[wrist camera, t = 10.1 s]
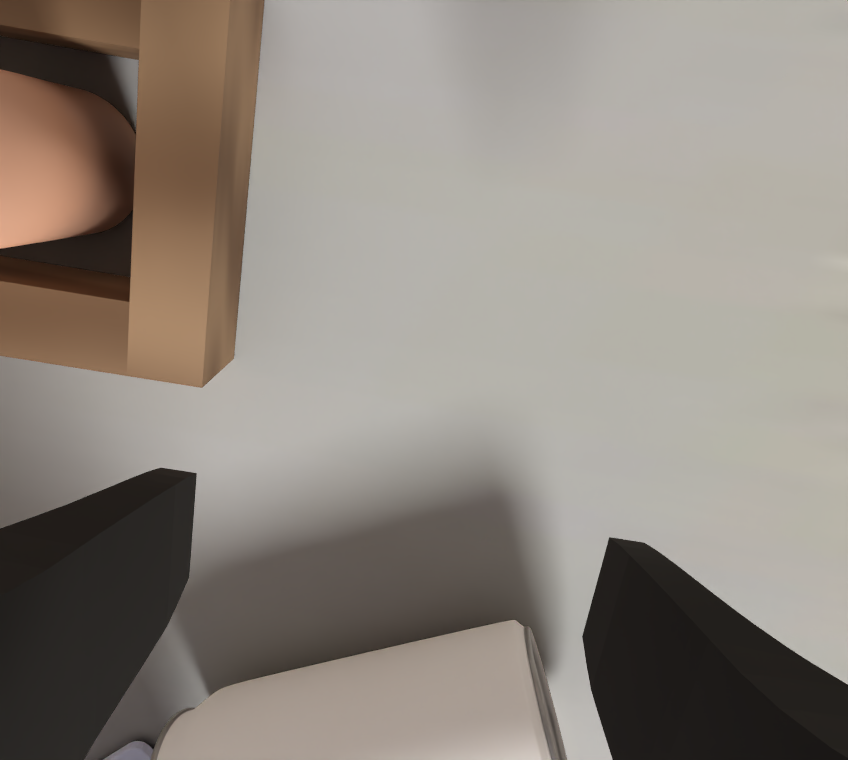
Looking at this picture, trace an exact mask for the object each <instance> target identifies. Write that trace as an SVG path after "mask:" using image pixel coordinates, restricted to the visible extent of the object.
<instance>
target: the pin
mask: <svg viewBox="0 0 848 760" xmlns="http://www.w3.org/2000/svg"><path fill="white" fill-rule="evenodd" d="M135 149H136V135H135V133H134V131H133V129H132V127H131V126H130V124H129V123H128V122H127V120H126V119H125V118H124V116H123V115H122V114H121V113H120V112H119V111H118V110H117V109H116V108H115V107H114V106H112V105H111V104H110V103H109V102H107V101H106V100H104V99H103V98H101V97H99V96H97V95H95V94H93V93H91V92H88V91H85V90H82V89H78V88H74V87H70V86H66V85H62V84H58V83H54V82H50V81H46V80H42V79H38V78H34V77H30V76H26V75H22V74H18V73H14V72H10V71H6V70H2V69H0V249H1V248H7V247H14V246H20V245H26V244H32V243H38V242H45V241H51V240H57V239H63V238H70V237H76V236H82V235H88V234H94V233H99V232H103V231H106V230H108V229H110V228H112V227H114V226H116V225H117V224H119V223H120V222H122V221H123V220H124V219H125V218H126V217H127V216H128V215H129V214H130V212H131V211H132V210H133V201H134V175H135Z"/></svg>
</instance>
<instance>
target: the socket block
mask: <svg viewBox="0 0 848 760" xmlns="http://www.w3.org/2000/svg"><path fill="white" fill-rule="evenodd" d="M263 11H264V0H0V36H4V37H10V38H15V39H21V40H27V41H33V42H38V43H44V44H50V45H56V46H61V47H67V48H73V49H79V50H84V51H90V52H96V53H102V54H108V55H113V56H119V57H125V58H131V59H136V60H139V71H138V97H137V123H136V149H135V175H134V201H133V227H132V253H131V277H127V276H121V275H115V274H109V273H103V272H96V271H90V270H84V269H78V268H72V267H66V266H60V265H54V264H48V263H42V262H35V261H29V260H23V259H17V258H11V257H5V256H0V356H6V357H12V358H18V359H25V360H31V361H37V362H44V363H50V364H56V365H62V366H69V367H75V368H81V369H87V370H94V371H100V372H106V373H113V374H119V375H125V376H131V377H138V378H144V379H150V380H157V381H163V382H169V383H175V384H182V385H188V386H194V387H201V388H202V387H203V386H204V385H205V384H207V383H208V382H209V381H210V380H211V379H212V378H213V377H214V376H215V375H216V374H217V373H219V372H220V371H221V370H222V369H223V368H224V367H225V366H226V365H227V364H228V363H229V362H231V361H232V360H233V359H234V350H235V338H236V327H237V315H238V303H239V291H240V280H241V268H242V256H243V245H244V233H245V221H246V210H247V198H248V186H249V174H250V163H251V151H252V139H253V128H254V116H255V104H256V93H257V81H258V69H259V57H260V46H261V34H262V22H263Z"/></svg>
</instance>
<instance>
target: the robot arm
mask: <svg viewBox="0 0 848 760" xmlns="http://www.w3.org/2000/svg"><path fill="white" fill-rule="evenodd" d="M196 474H197V473H191V472H185V471H178V470H172V469H166V468H159V469H155V470H152V471H149V472H146V473H143V474H141V475H138V476H136V477H133V478H131V479H128V480H126V481H123V482H121V483H118V484H116V485H114V486H111V487H109V488H106V489H104V490H102V491H99V492H97V493H94V494H92V495H89V496H87V497H84V498H82V499H80V500H77V501H75V502H72V503H70V504H67V505H65V506H62V507H59V508H56V509H54V510H51V511H48V512H45V513H43V514H40V515H37V516H35V517H32V518H29V519H26V520H24V521H21V522H18V523H15V524H13V525H10V526H7V527H4V528H1V529H0V760H84V758H85V757H86V755H87V753H88V751H89V750H90V748H91V746H92V744H93V743H94V741H95V739H96V738H97V736H98V735H99V733H100V731H101V730H102V728H103V727H104V725H105V724H106V722H107V720H108V719H109V717H110V716H111V714H112V713H113V711H114V709H115V708H116V706H117V705H118V703H119V702H120V700H121V698H122V697H123V695H124V694H125V692H126V691H127V689H128V688H129V686H130V684H131V683H132V681H133V680H134V678H135V677H136V675H137V673H138V672H139V670H140V669H141V667H142V666H143V664H144V662H145V661H146V659H147V658H148V656H149V654H150V653H151V651H152V650H153V648H154V646H155V645H156V643H157V642H158V640H159V638H160V637H161V635H162V633H163V632H164V630H165V628H166V627H167V625H168V623H169V620H170V618H171V616H172V614H173V612H174V610H175V608H176V606H177V603H178V601H179V599H180V597H181V594H182V592H183V590H184V587H185V585H186V583H187V581H188V578H189V571H190V557H191V543H192V529H193V516H194V502H195V488H196ZM582 637H583V643H584V650H585V657H586V663H587V669H588V675H589V680H590V686H591V691H592V694H593V697H594V701H595V704H596V707H597V711H598V714H599V717H600V720H601V724H602V727H603V730H604V733H605V737H606V740H607V743H608V746H609V749H610V752H611V755H612V758H613V760H848V685H847V684H846V683H844V682H842V681H841V680H839V679H837V678H836V677H834V676H832V675H831V674H829V673H827V672H826V671H824V670H822V669H821V668H819V667H817V666H816V665H814V664H812V663H811V662H809V661H807V660H806V659H804V658H803V657H801V656H800V655H798V654H797V653H795V652H794V651H792V650H791V649H789V648H787V647H786V646H785V645H783V644H782V643H780V642H779V641H777V640H776V639H775V638H773V637H772V636H770V635H769V634H767V633H766V632H764V631H763V630H762V629H760V628H759V627H757V626H756V625H754V624H753V623H752V622H750V621H749V620H748V619H746V618H745V617H744V616H742V615H741V614H739V613H738V612H737V611H735V610H734V609H733V608H731V607H730V606H729V605H727V604H726V603H725V602H723V601H722V600H721V599H720V598H718V597H717V596H716V595H714V594H713V593H712V592H710V591H709V590H708V589H707V588H705V587H704V586H703V585H701V584H700V583H699V582H698V581H696V580H695V579H694V578H692V577H691V576H690V575H689V574H687V573H686V572H685V571H683V570H682V569H681V568H680V567H678V566H677V565H676V564H674V563H673V562H672V561H670V560H669V559H668V558H666V557H665V556H664V555H662V554H661V553H659V552H658V551H656V550H655V549H653V548H652V547H650V546H649V545H647V544H645V543H642V542H636V541H629V540H623V539H616V538H610V537H609V541H608V545H607V548H606V552H605V556H604V559H603V563H602V567H601V570H600V574H599V578H598V581H597V585H596V589H595V592H594V596H593V600H592V603H591V607H590V611H589V614H588V618H587V622H586V625H585V629H584V633H583V636H582ZM152 752H153V749H152V748H151V747H150V746H149V745H148V744H146V743H145V742H141V741H133V742H131V743H129V744H127V745H125V746H124V747H122V748H121V749H119V750H117V751H116V752H114V753H113V754H111V755H109V756H108V757H106V758H105V759H103V760H150V759H151V755H152Z"/></svg>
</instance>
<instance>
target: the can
mask: <svg viewBox="0 0 848 760" xmlns="http://www.w3.org/2000/svg"><path fill="white" fill-rule="evenodd" d="M150 760H567V757H566V753H565V749H564V745H563V740H562V736H561V732H560V728H559V724H558V720H557V716H556V713H555V709H554V705H553V701H552V697H551V693H550V690H549V686H548V682H547V679H546V675H545V671H544V668H543V664H542V661H541V657H540V654H539V651H538V648H537V644H536V641H535V638H534V635H533V633H532V630H531V628H530V627H529V626H525V627H524V626H522V625H521V624H519V623H518V622H517V621H516V620H509V621H504V622H500V623H495V624H490V625H486V626H481V627H476V628H472V629H467V630H463V631H459V632H454V633H450V634H445V635H441V636H437V637H432V638H428V639H423V640H419V641H415V642H410V643H406V644H402V645H397V646H393V647H389V648H384V649H380V650H376V651H371V652H367V653H363V654H358V655H354V656H350V657H345V658H341V659H337V660H332V661H328V662H324V663H319V664H315V665H311V666H307V667H302V668H298V669H294V670H290V671H285V672H281V673H277V674H273V675H269V676H264V677H260V678H256V679H252V680H248V681H244V682H240V683H237V684H233V685H230V686H227V687H224V688H221V689H219V690H218V691H216V692H215V693H213V694H212V695H211V696H209V697H208V698H207V699H206V700H204V701H203V702H202V703H201V704H200V705H198V706H197V707H196V708H186V709H183V710H181V711H179V712H177V713H176V714H175V715H174V716H173V717H172V718H171V719H170V720H169V721H168V722H167V723H166V725H165V726H164V728H163V730H162V731H161V733H160V735H159V737H158V739H157V741H156V744H155V746H154V749H153V752H152V755H151V759H150Z"/></svg>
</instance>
